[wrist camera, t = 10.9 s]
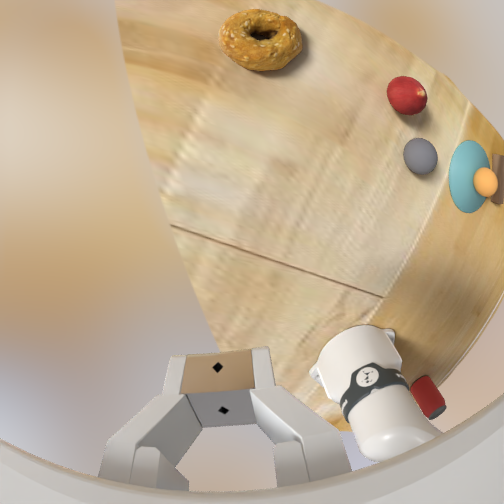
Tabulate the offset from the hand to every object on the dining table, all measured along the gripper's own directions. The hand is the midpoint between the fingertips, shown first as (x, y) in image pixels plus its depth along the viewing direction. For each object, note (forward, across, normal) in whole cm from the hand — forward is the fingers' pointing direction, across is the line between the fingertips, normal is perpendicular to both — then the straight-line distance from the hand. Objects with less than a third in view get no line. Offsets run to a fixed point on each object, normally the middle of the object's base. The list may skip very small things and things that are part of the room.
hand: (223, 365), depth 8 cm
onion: (+30, +26, +13) cm, 42 cm away
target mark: (+30, +44, 0) cm, 54 cm away
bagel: (+30, +6, +21) cm, 37 cm away
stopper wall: (+30, +53, 0) cm, 61 cm away
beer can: (+30, +43, -54) cm, 75 cm away
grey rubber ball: (+27, +28, +4) cm, 39 cm away
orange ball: (+27, +46, 0) cm, 53 cm away
